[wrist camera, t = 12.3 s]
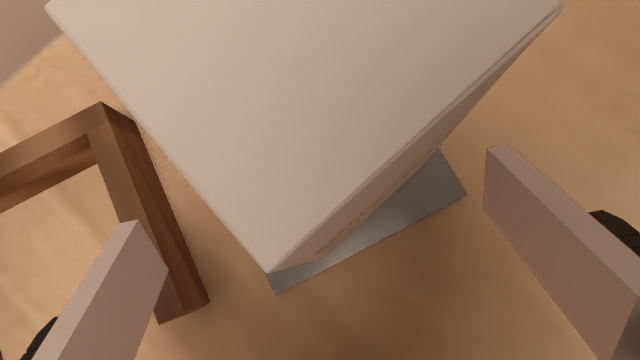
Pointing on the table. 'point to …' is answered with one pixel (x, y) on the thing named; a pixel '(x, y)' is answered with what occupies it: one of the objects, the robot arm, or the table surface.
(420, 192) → the slate pad
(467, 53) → the supplement box
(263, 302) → the table surface
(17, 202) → the cradle
